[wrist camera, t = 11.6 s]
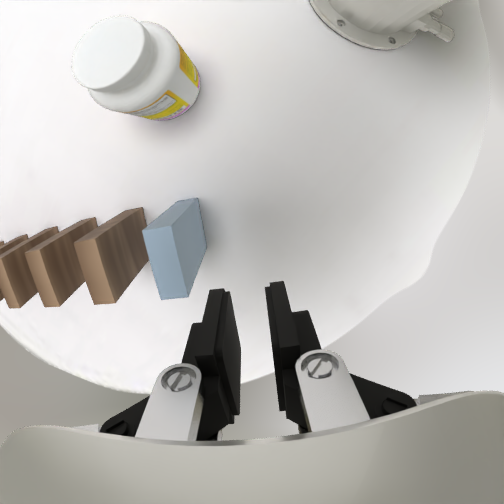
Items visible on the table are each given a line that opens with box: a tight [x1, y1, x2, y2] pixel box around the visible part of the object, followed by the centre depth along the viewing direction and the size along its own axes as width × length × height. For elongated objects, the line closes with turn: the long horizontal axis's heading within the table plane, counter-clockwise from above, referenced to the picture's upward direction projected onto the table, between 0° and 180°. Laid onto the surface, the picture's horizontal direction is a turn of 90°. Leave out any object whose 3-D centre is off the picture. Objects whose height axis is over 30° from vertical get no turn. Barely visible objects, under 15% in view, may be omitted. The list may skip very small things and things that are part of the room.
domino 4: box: [74, 207, 149, 305], centre depth 23 cm, size 2×5×10 cm, turn 7°
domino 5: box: [142, 198, 207, 300], centre depth 23 cm, size 2×5×10 cm, turn 8°
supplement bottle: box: [72, 15, 200, 120], centre depth 17 cm, size 7×7×13 cm
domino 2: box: [0, 226, 59, 308], centre depth 23 cm, size 2×5×10 cm, turn 7°
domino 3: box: [25, 217, 98, 307], centre depth 23 cm, size 2×5×10 cm, turn 8°
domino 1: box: [0, 234, 28, 301], centre depth 23 cm, size 2×5×10 cm, turn 7°
